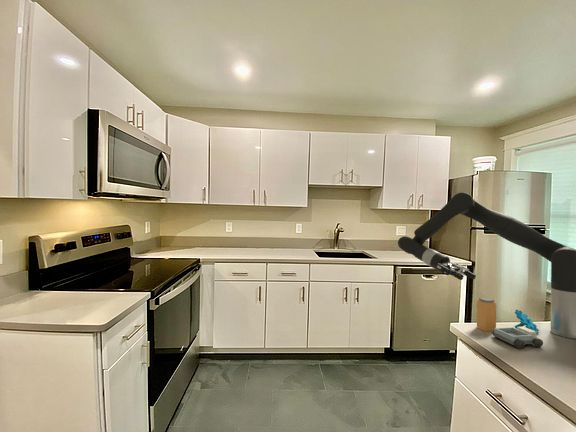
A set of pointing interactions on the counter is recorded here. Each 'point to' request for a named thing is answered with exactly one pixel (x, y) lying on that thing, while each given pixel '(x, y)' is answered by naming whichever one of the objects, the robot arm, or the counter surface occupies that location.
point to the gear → (525, 321)
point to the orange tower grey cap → (486, 314)
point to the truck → (518, 336)
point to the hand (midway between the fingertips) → (468, 277)
